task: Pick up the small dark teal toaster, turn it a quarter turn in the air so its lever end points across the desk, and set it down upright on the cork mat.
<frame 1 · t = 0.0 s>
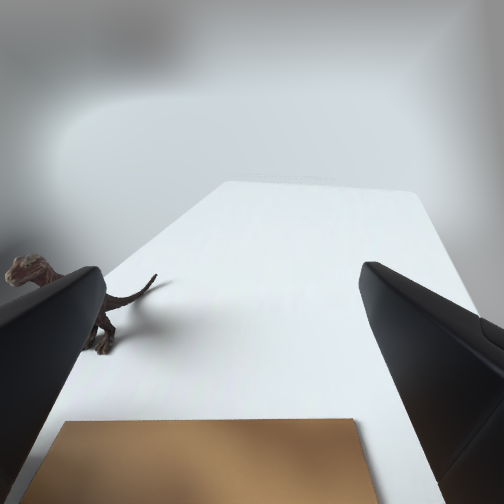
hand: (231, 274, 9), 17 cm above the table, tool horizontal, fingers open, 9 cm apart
dinosaur model: (118, 321, 31), on the table
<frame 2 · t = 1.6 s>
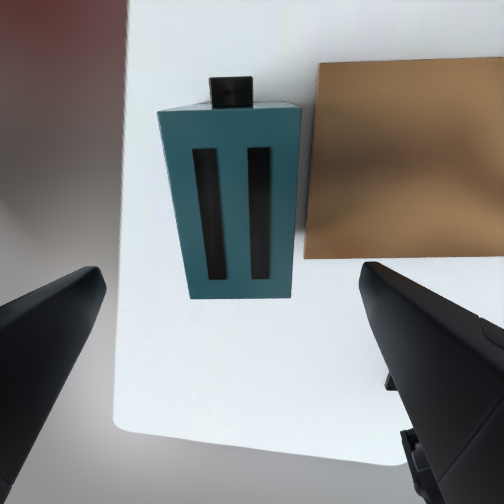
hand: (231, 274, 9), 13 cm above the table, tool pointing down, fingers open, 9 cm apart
mat: (459, 173, 20), on the table
toaster: (242, 178, 21), on the table
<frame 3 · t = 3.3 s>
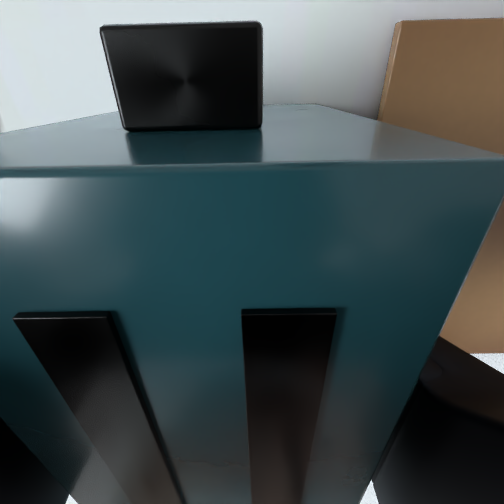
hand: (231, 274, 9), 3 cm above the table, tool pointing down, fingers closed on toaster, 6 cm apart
toaster: (234, 239, 12), on the table, touching gripper
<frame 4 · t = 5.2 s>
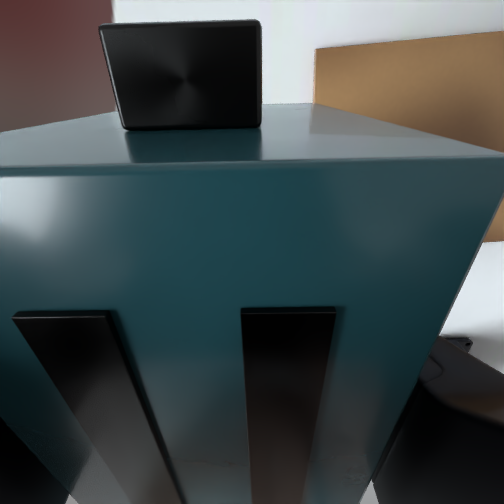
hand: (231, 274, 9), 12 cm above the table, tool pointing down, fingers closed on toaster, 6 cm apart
mat: (467, 156, 19), on the table
toaster: (234, 239, 12), point 10 cm above the table, touching gripper
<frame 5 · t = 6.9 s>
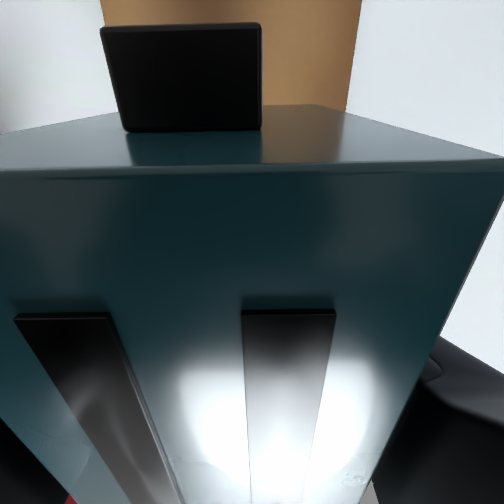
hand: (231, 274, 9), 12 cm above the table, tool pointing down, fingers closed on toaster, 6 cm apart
toaster: (234, 239, 12), point 10 cm above the table, touching gripper
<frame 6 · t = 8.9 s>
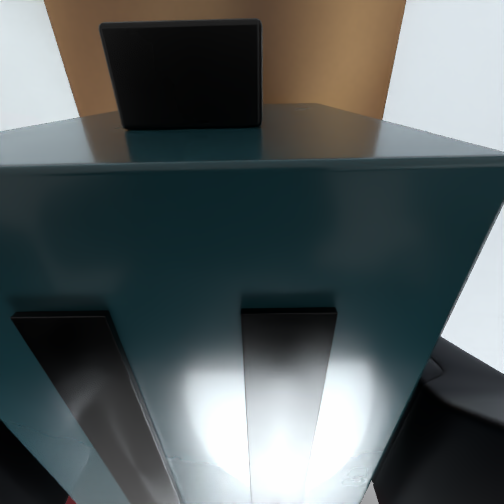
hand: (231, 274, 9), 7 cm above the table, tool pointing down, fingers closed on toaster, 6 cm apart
mat: (235, 185, 15), on the table
toaster: (234, 239, 12), point 4 cm above the table, touching gripper
when the fingers open (3 cm above the table, at t = 10.4 s): toaster stays where it is, resting on mat.
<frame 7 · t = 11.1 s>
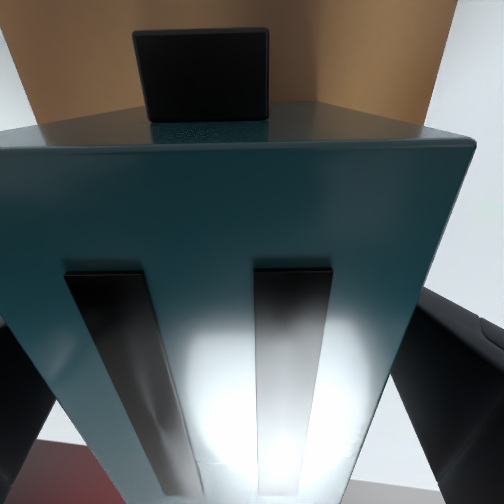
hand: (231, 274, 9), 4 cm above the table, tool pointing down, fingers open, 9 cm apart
mat: (235, 207, 12), on the table
toaster: (238, 231, 12), resting on mat
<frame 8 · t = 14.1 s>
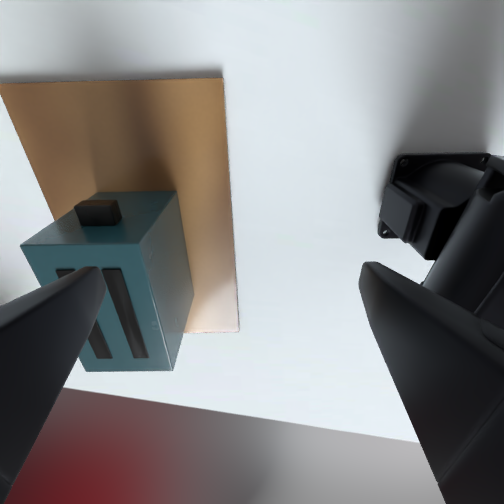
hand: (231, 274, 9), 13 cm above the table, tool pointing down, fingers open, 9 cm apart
mat: (149, 236, 23), on the table
toaster: (151, 249, 23), resting on mat
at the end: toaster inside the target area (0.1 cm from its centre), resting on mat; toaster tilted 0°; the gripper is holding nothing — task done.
